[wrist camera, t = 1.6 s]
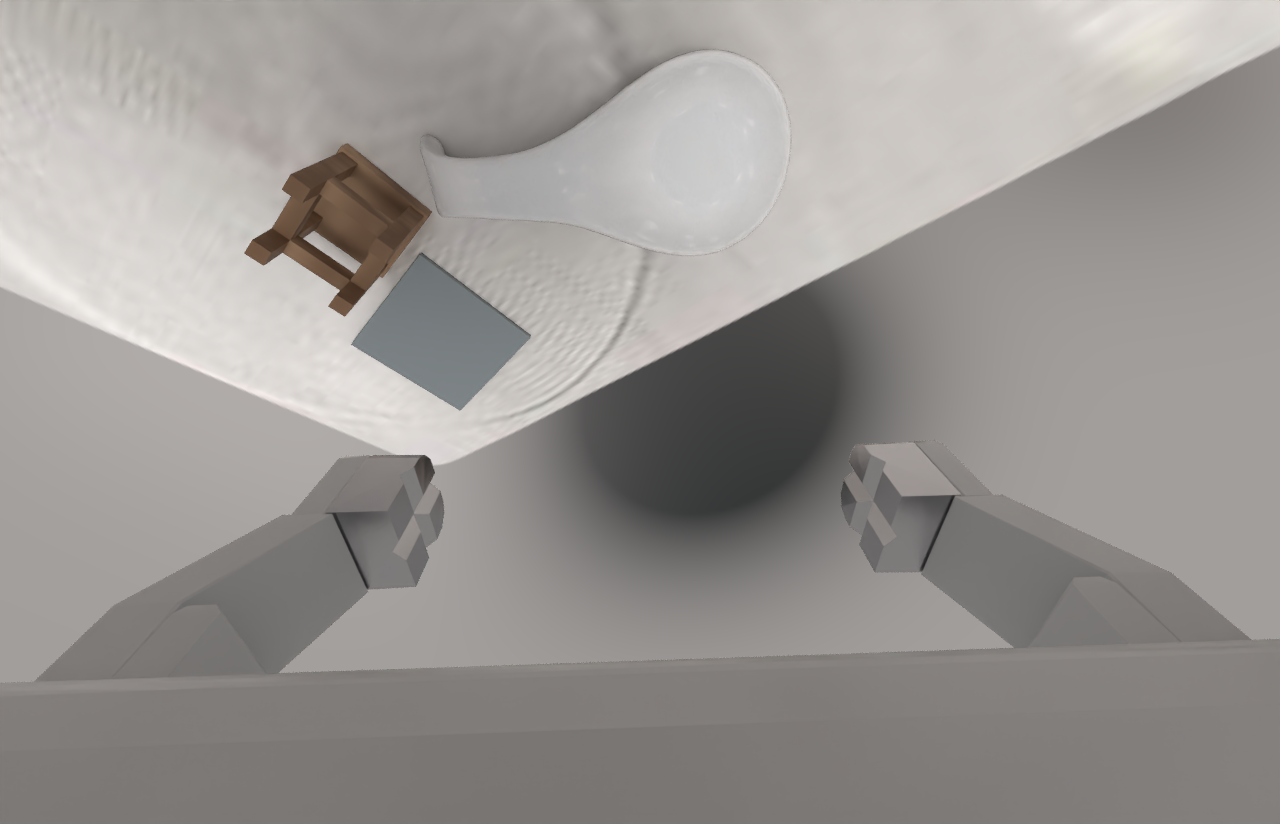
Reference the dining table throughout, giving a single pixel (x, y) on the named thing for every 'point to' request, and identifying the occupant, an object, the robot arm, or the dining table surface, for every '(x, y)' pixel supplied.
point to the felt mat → (440, 334)
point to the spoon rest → (643, 161)
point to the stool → (343, 223)
